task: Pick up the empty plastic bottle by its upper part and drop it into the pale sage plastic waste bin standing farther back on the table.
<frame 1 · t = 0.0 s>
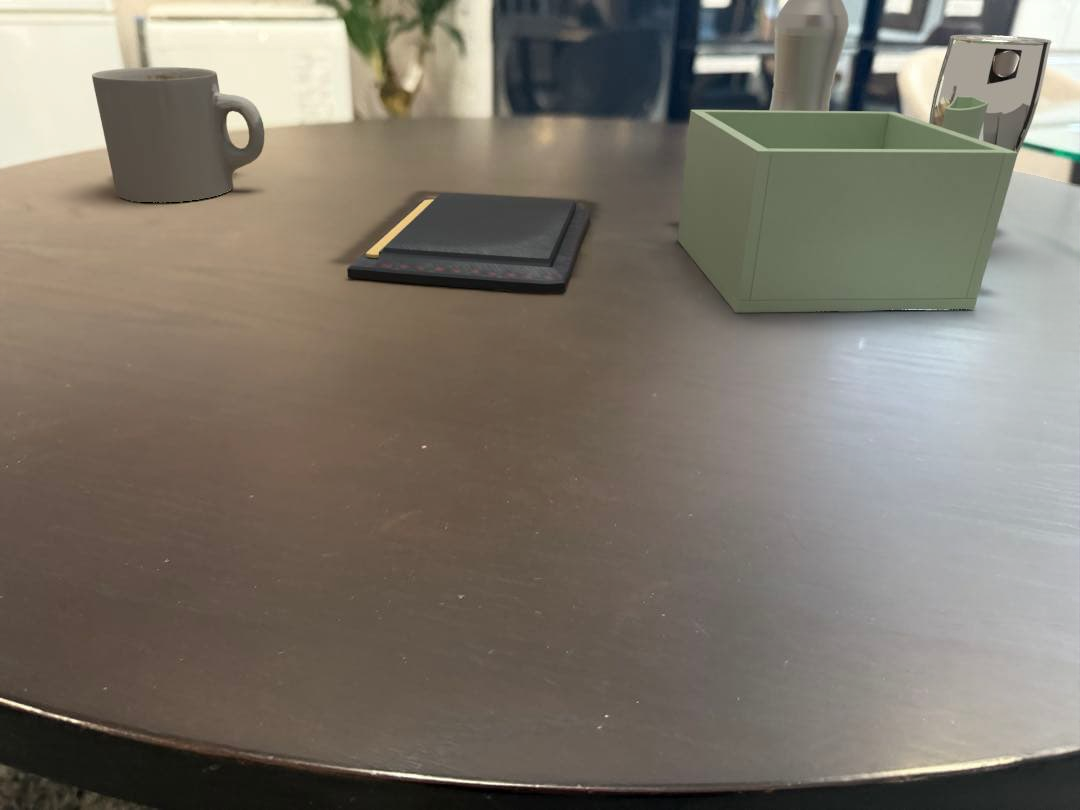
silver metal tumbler: (947, 245, 67), on the table
bin: (810, 271, 59), on the table
plastic bottle: (787, 186, 84), on the table
wallet: (483, 246, 64), on the table
coffee mug: (194, 193, 76), on the table
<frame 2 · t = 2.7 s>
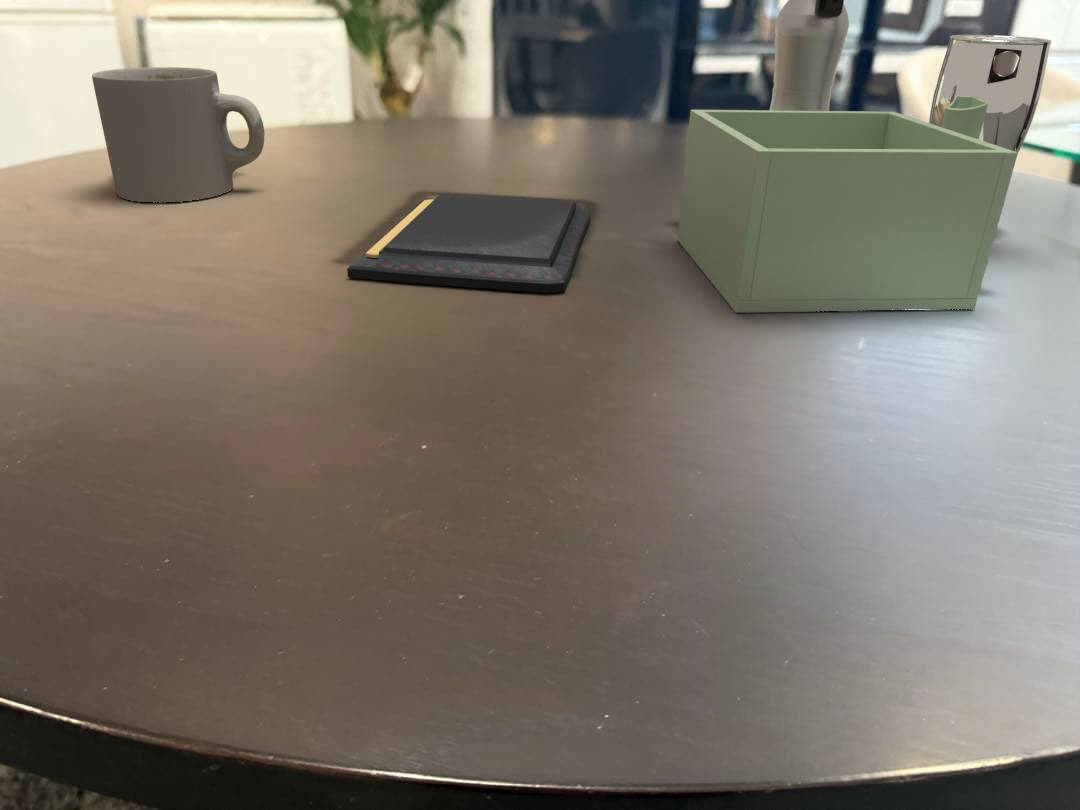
hand: (813, 14, 77), 16 cm above the table, tool pointing down, fingers closed on plastic bottle, 5 cm apart
plastic bottle: (787, 186, 84), on the table, touching gripper
everything else where it was.
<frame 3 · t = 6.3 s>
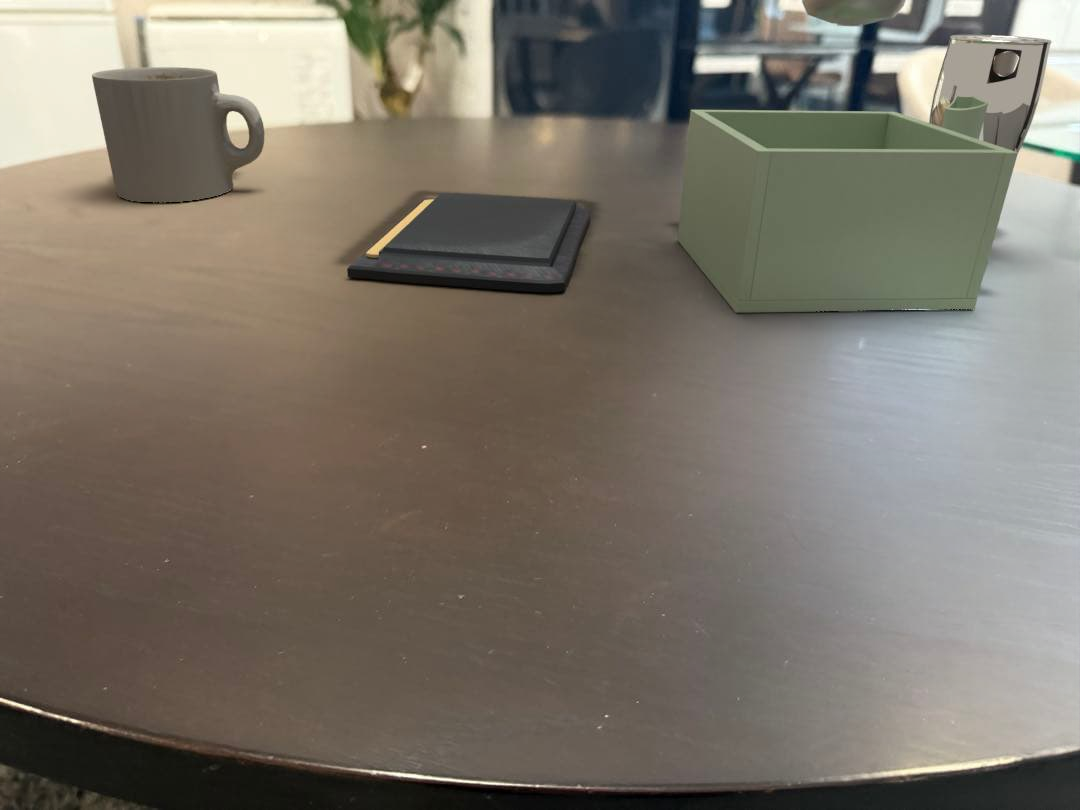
plastic bottle: (847, 28, 55), point 16 cm above the table, touching gripper
everything else where it was.
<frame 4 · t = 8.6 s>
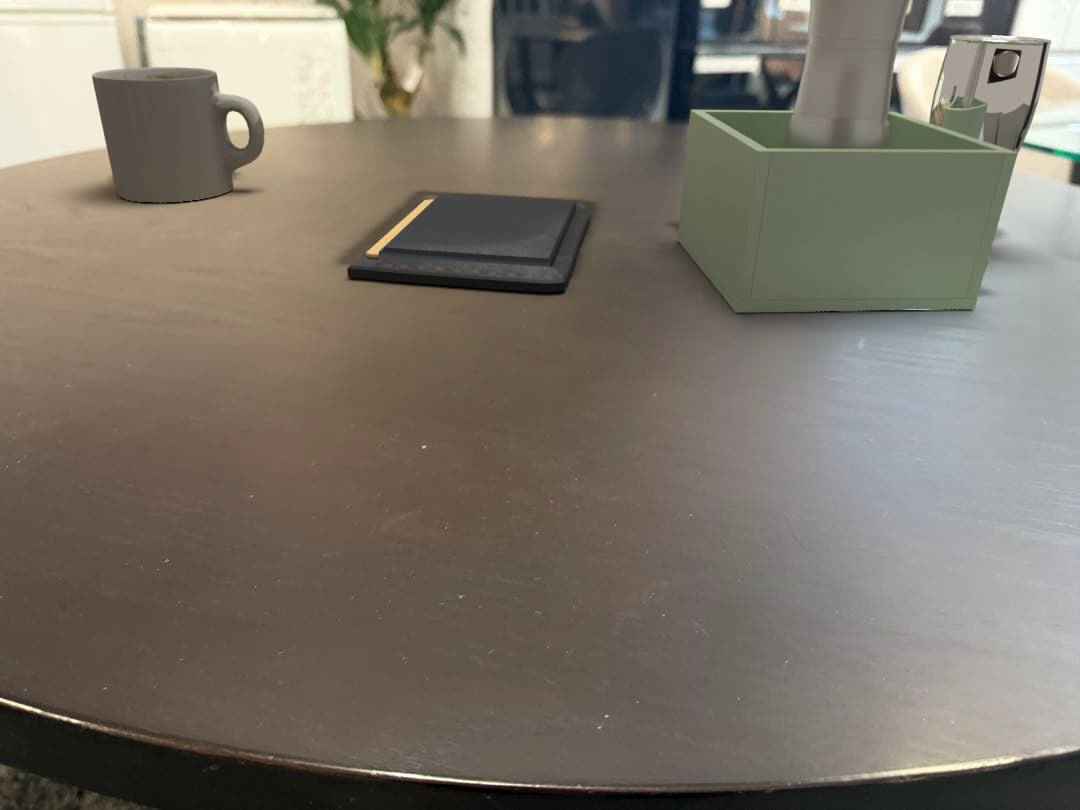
plastic bottle: (826, 193, 57), point 6 cm above the table, touching gripper
everything else where it was.
when the fingers open (16 cm above the table, at t = 10.4 s): plastic bottle stays where it is, resting on bin.
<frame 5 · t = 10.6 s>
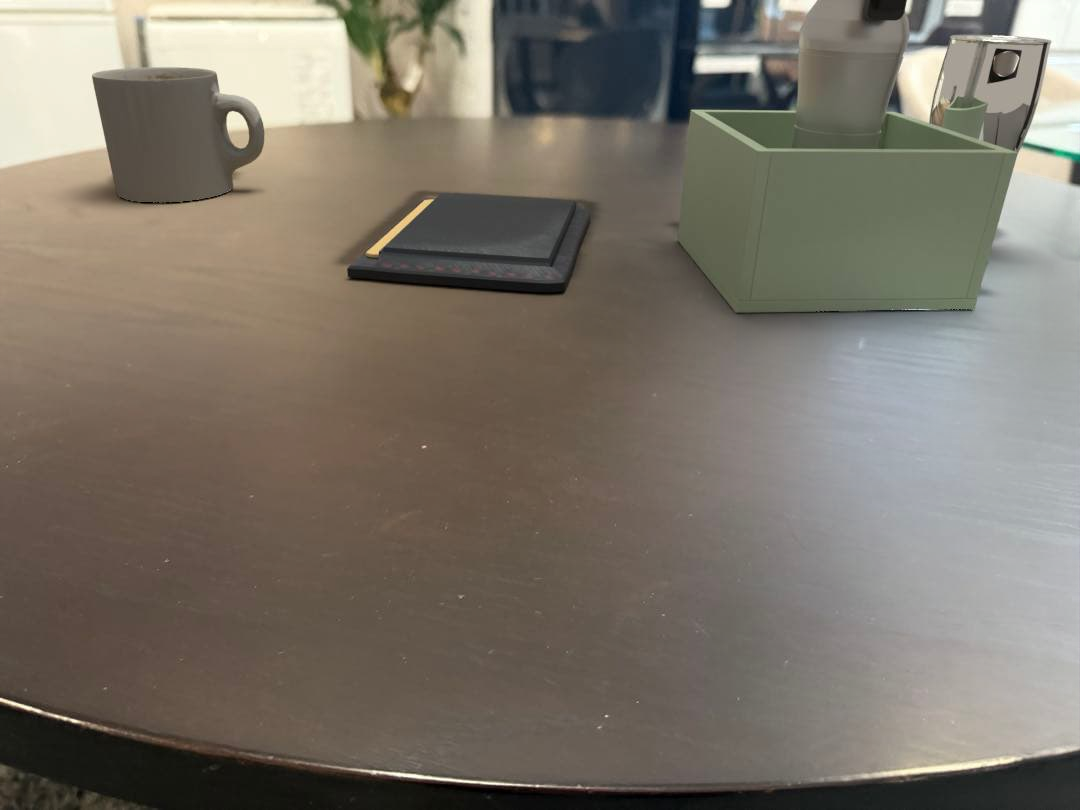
hand: (856, 16, 52), 16 cm above the table, tool pointing down, fingers open, 6 cm apart
plastic bottle: (813, 263, 59), point 1 cm above the table, touching bin
everything else where it was.
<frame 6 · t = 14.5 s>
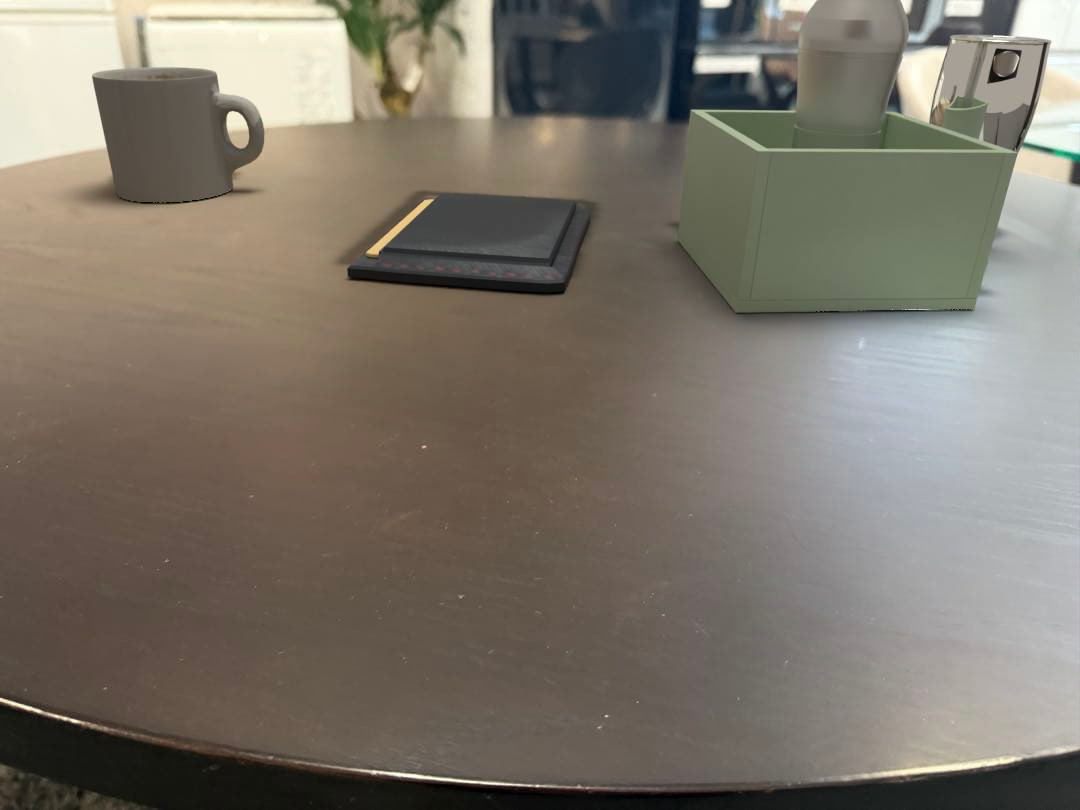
nothing on the table moved.
at the end: plastic bottle inside the target area in the bin (0.1 cm from its centre), point 0.6 cm above the bin's base; the gripper is holding nothing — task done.
